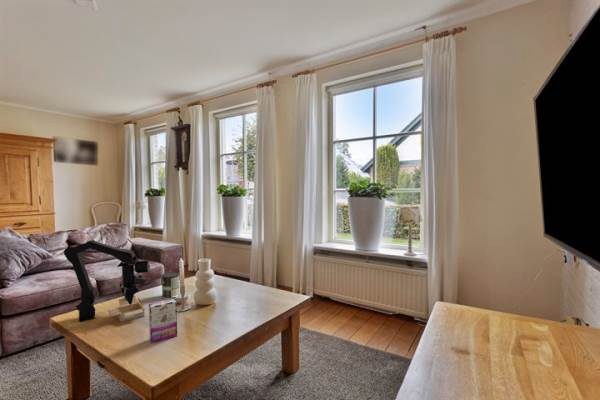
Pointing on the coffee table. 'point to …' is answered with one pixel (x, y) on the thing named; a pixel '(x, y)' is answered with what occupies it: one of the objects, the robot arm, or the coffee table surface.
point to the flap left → (124, 302)
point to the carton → (128, 312)
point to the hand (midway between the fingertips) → (128, 302)
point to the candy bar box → (162, 320)
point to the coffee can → (170, 285)
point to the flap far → (140, 301)
